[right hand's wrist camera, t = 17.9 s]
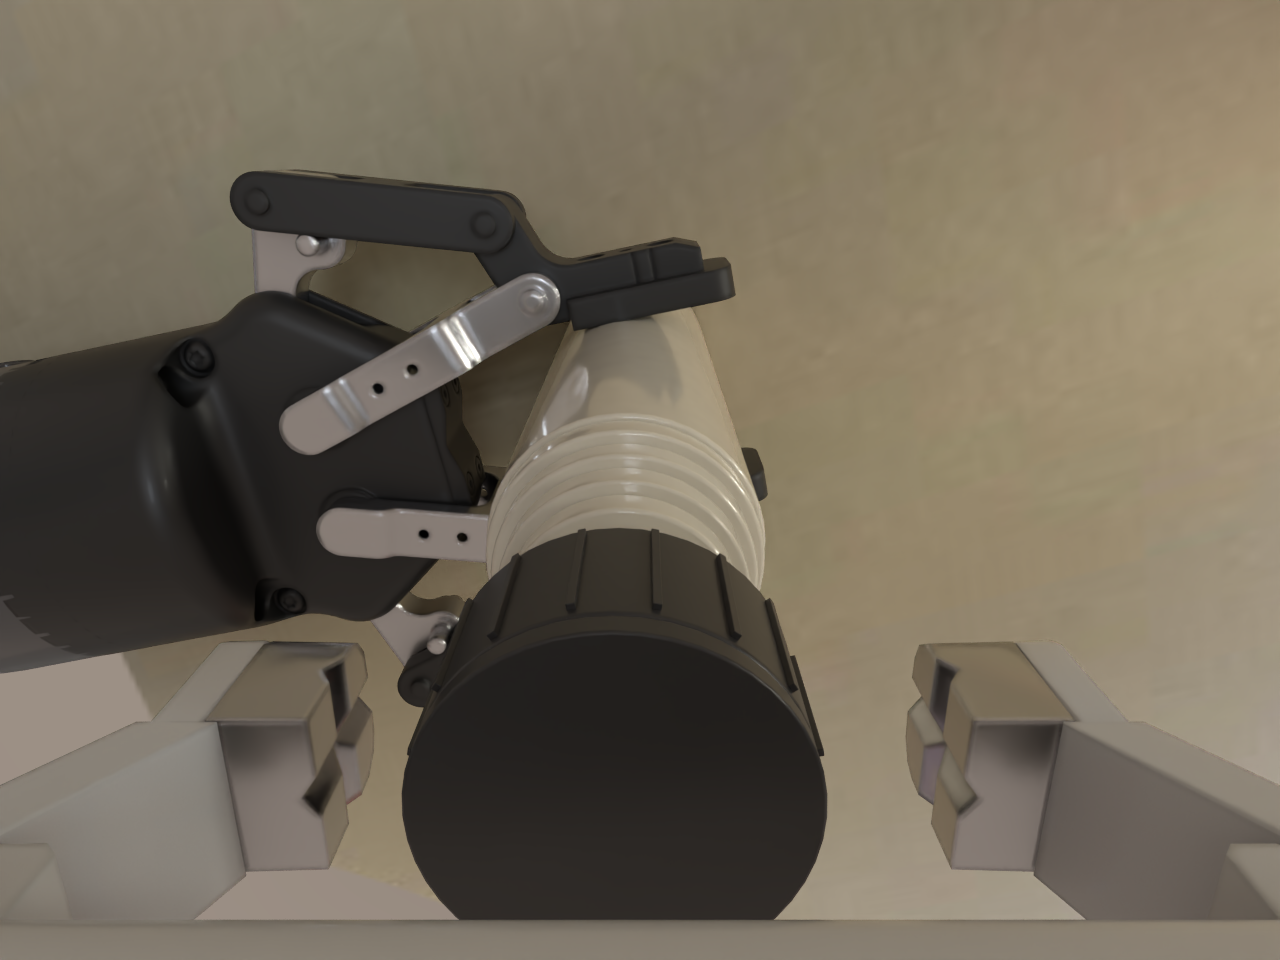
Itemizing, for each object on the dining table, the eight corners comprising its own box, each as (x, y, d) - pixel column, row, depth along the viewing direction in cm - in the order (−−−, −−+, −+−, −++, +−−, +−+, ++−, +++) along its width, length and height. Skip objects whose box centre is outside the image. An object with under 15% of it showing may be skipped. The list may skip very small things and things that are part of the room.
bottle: (666, 253, 26) (727, 500, 8) (725, 378, 27) (900, 856, 9) (541, 316, 27) (308, 688, 8) (604, 436, 28) (528, 992, 9)
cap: (536, 856, 11) (511, 1025, 9) (387, 597, 10) (316, 720, 8) (837, 758, 10) (886, 910, 8) (720, 469, 9) (741, 562, 7)
